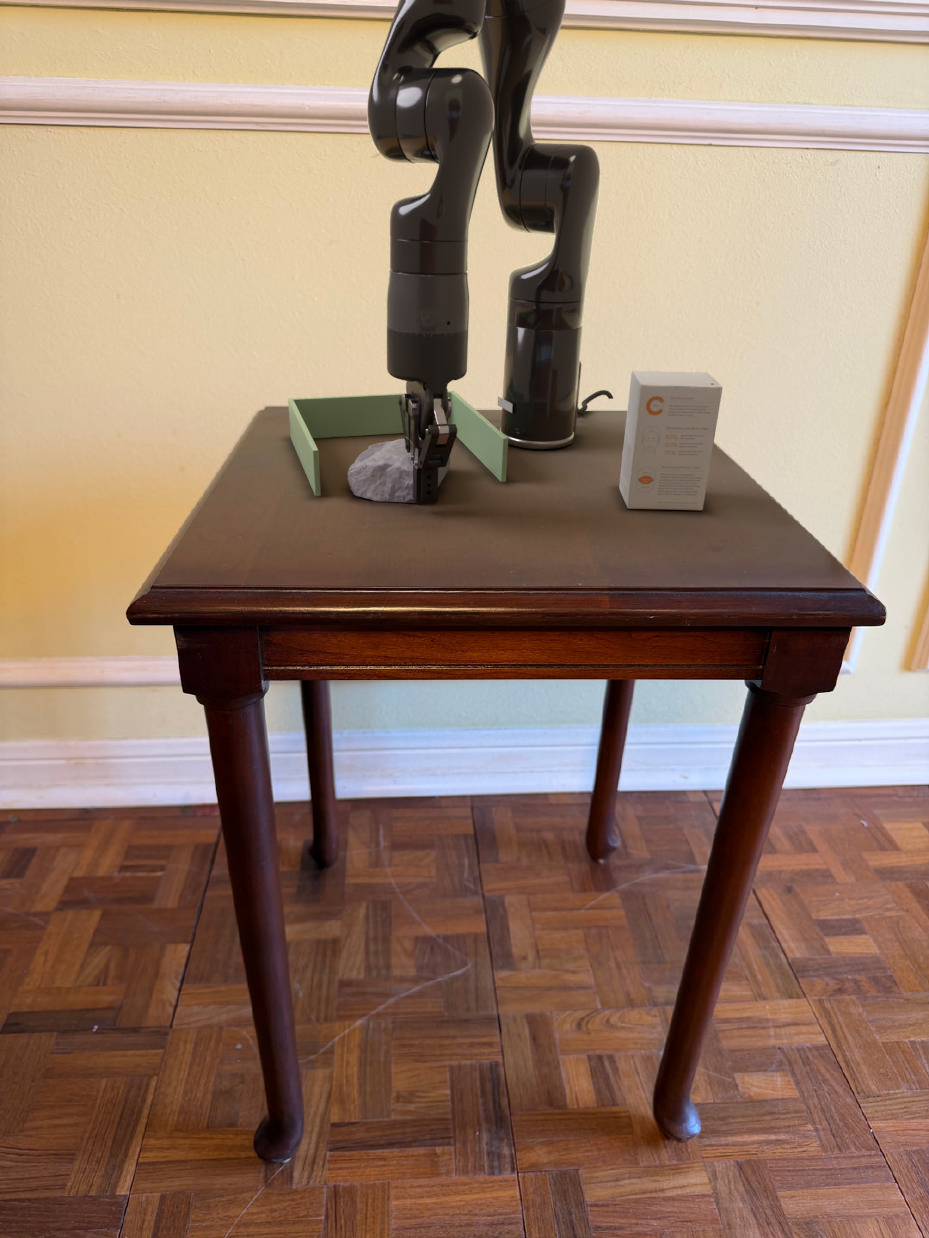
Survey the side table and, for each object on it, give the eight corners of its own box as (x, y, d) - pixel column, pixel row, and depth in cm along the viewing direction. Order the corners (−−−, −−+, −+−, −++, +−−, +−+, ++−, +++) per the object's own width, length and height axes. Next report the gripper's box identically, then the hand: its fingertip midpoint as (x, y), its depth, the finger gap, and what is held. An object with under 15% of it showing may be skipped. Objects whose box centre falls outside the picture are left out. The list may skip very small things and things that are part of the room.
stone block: (345, 514, 92) (437, 504, 90) (335, 470, 91) (428, 458, 88) (374, 481, 103) (457, 471, 101) (366, 440, 101) (450, 430, 99)
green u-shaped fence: (506, 482, 98) (508, 438, 95) (315, 496, 92) (312, 450, 90) (453, 428, 115) (454, 390, 113) (290, 438, 110) (287, 398, 107)
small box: (690, 490, 97) (709, 371, 91) (703, 512, 91) (724, 386, 85) (617, 488, 97) (630, 369, 91) (625, 509, 91) (641, 384, 85)
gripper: (489, 335, 76) (481, 522, 84) (446, 311, 87) (442, 479, 95) (405, 336, 74) (404, 529, 82) (372, 312, 85) (374, 483, 93)
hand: (425, 501), depth 89 cm, fingers closed
